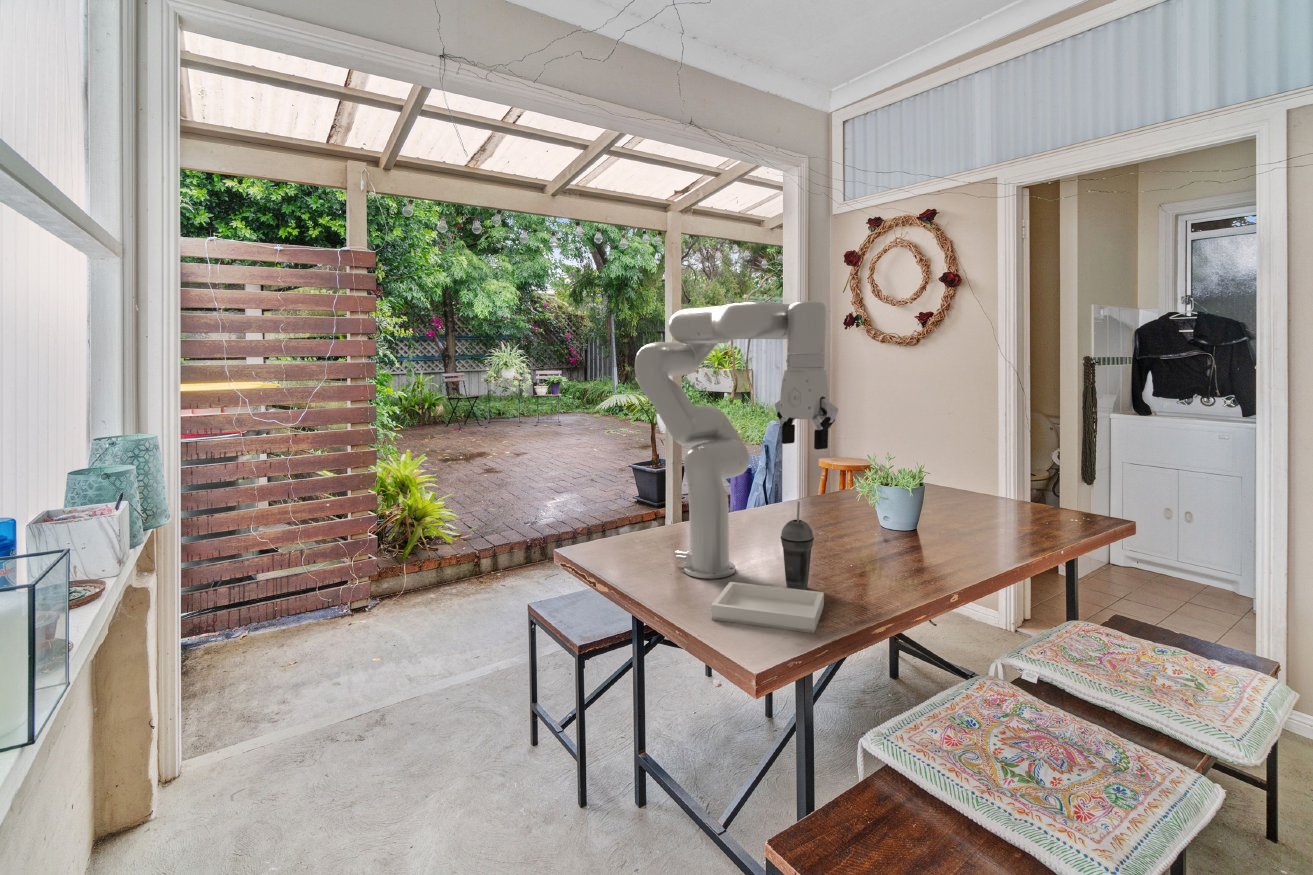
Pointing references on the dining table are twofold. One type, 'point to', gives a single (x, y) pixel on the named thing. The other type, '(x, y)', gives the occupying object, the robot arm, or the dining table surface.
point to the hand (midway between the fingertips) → (803, 446)
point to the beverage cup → (797, 552)
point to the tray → (769, 606)
